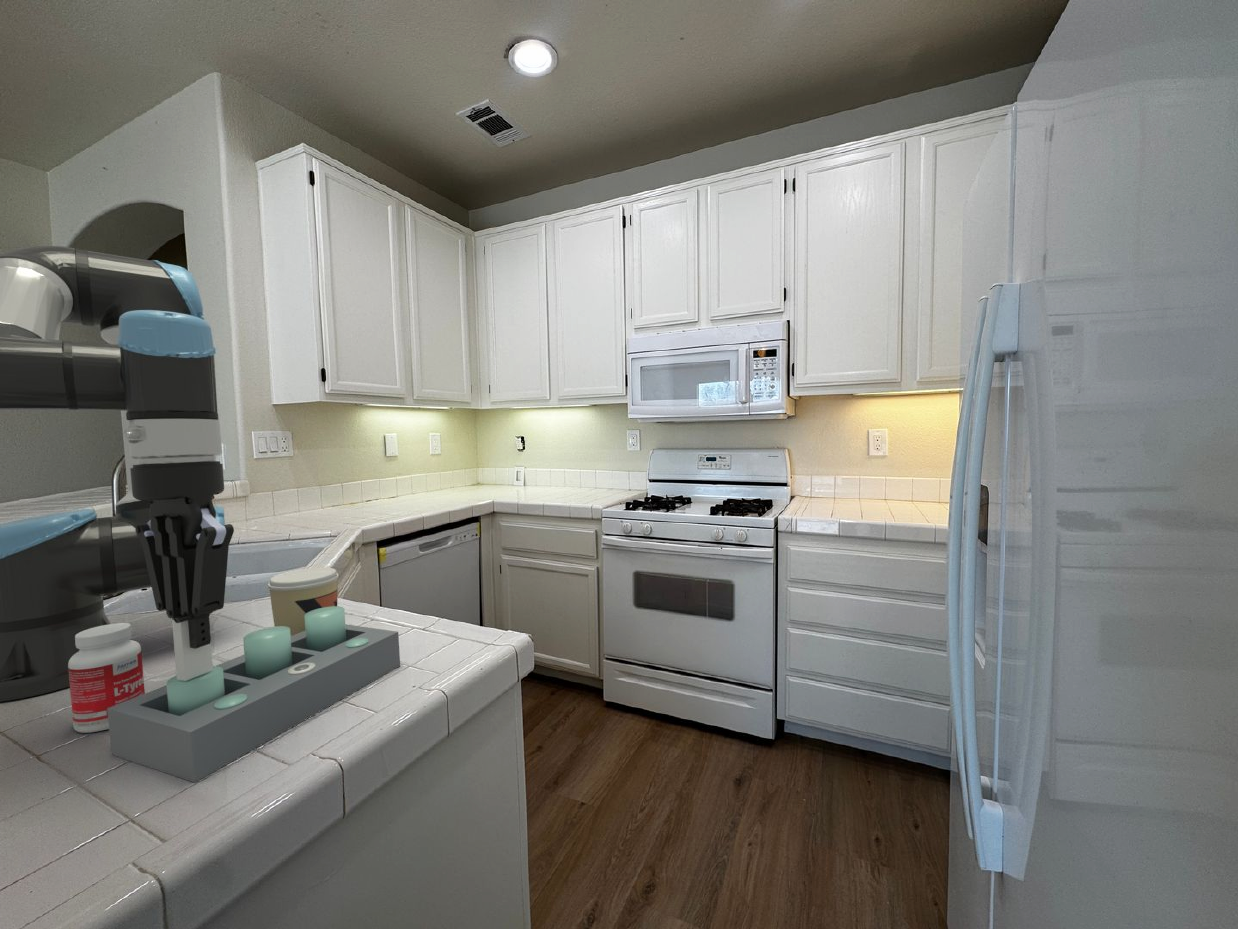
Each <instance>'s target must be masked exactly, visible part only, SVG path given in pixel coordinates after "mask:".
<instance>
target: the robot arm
mask: <svg viewBox="0 0 1238 929" xmlns="http://www.w3.org/2000/svg"><path fill="white" fill-rule="evenodd" d="M201 299H202V298H201V295H200V292H199V289H198V285H197V283H196V281H195V278H194V277H193V274H191V273H190V271H189V270H187V269H186V268H185V267H182V266H179V265H175V264H170V263H165V262H161V261H159V260H155V259H152V260H149V259H143V258H142V259H141V258H136V257H129V256H123V255H117V254H111V253H110V254H109V253H104V252H96V251H93V250H92V251H91V250H85V249H80V248H75V247H70V246H62V245H61V246H60V245H33V246H25V247H19V248H13V249H9V250H6V251H2V252H0V411H2V410H3V411H4V410H6V411H8V410H9V411H11V410H15V411H16V410H17V411H19V410H22V411H24V410H25V411H28V410H29V411H30V410H31V411H32V410H33V411H34V410H36V411H37V410H39V411H45V410H46V411H49V410H50V411H53V410H54V411H56V410H57V411H60V410H61V411H65V410H66V411H67V410H68V411H69V410H70V411H71V410H72V411H74V410H75V411H76V410H77V411H120V416H121V427H122V437H123V438H122V439H123V450H124V462H125V474H126V485H127V493H126V494H125V496H123V497H122V498H121V499H120V500H118V502H116V503H115V513H116V514H115V516H108V517H107V516H106V517H98V513H96V511H95V510H94V509H92V508H86V509H85V508H84V509H78V510H76V509H75V510H69V511H62V512H57V513H50V514H45V515H40V516H34V517H33V516H32V517H29V518H28V517H27V518H23V519H19V520H18V519H17V520H13V521H10V522H4V523H1V524H0V703H1V702H8V701H14V700H20V699H26V698H30V697H35V696H39V695H44V694H46V693H47V694H48V693H50V692H56V691H58V690H63V689H65V688H70V683H69V671H68V662H69V660H70V658H71V657H72V656H73V655H74V654H76V653H77V652H79V650H80V649H78V648H76V645H75V635H76V634H78V633H80V632H82V631H84V630H87V629H91V628H94V627H98V626H103V625H109V624H112V623H111V622H110V619H109V618H108V616H107V615H106V612H105V607H104V606H105V605H104V596H107V595H111V594H116V593H117V594H119V593H125V592H130V591H137V590H141V589H147V588H151V590H152V594H153V599H154V600H153V601H154V603H155V607H156V610H157V611H158V612H163V611H165V612H166V613H165V614H166V616H167V617H168V619H171V623H172V624H171V625H172V634H173V635H172V636H173V637H172V638H173V648H174V649H173V650H174V661H175V670H176V671H175V674H176V675H177V679H179V680H183V681H187V680H189V679H192V678H194V677H197V676H199V675H202V674H204V673H207V672H209V671H212V670H213V666H214V664H213V663H214V662H213V651H212V650H213V649H212V636H211V624H210V615H211V614H213V613H214V612H216V611H218V610H222V609H223V608H224V605H225V596H226V595H225V594H226V583H227V571H228V560H229V548H230V547H229V546H230V542H231V541H232V538H233V535H234V532H235V529H234V526H233V524H231V523H225V522H226V520H225V509H224V508H223V507H222V506H219V505H214V503H213V499H212V498H213V496H215V495H220V494H222V493H223V492H224V490H225V480H224V468H223V466H224V465H223V463H221V461H220V460H219V461H217V456H221V455H222V454H223V449H222V448H223V447H222V437H221V426H220V425H221V424H220V420H219V419H220V418H219V412H218V400H217V399H218V398H217V396H218V395H217V381H216V364H215V362H216V361H215V355H216V353H217V352H216V347H215V345H214V342H213V341H214V340H213V334H212V329H211V325H210V324H209V323H208V322H207V321H206V320H205V316H204V312H203V311H204V310H203V303H202V300H201ZM61 324H70V325H77V326H79V325H80V326H85V327H86V326H87V327H98V328H100V329H99V330H100V336H101V339H102V340H104V341H105V342H106V343H99V342H86V341H85V342H84V341H71V340H70V341H69V340H61V339H60V332H61ZM176 675H175V676H176Z"/></svg>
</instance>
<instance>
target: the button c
mask: <svg viewBox="0 0 1238 929" xmlns="http://www.w3.org/2000/svg"><path fill="white" fill-rule="evenodd" d="M345 624H346V613H345V607H343V606H338V605H337V606H331V607H324V608H319V609H315V610H312V611H310V612H308V613H306V614H305V629H306V644H307V650H313V651H319V652H323V651H325V650H328V649H330V648H332V647H334V646H336V645H339V644H341V643H343V642H345V641H346V627H345Z"/></svg>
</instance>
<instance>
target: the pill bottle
mask: <svg viewBox="0 0 1238 929" xmlns="http://www.w3.org/2000/svg"><path fill="white" fill-rule="evenodd" d="M131 637H132V625H131V624H130V623H129V622H128V623H126V622H117V623H111V624H109V625H103V626H98V627H94V628H91V629H87V630H84V631H82V632H80V633H78V634H76V635H75V645H76V648H78V649H80V650H79V652H77V653H76V654H74V655H73V656H72V657H71V658H70V660H69V662H68V671H69V683H70V686H69V690H70V702H71V703H70V704H71V712H72V713H71V714H72V715H71V716H72V724H73V728H74V730H75V731H76V732H78V733H86V734H88V733H95V732H101V731H105V730H109V722H108V711H107V708H110V707H112V706H115V705H117V704H120V703H122V702H125V701H127V700H130V699H133V698H135V697H138V696H140V695H143V694H145V693H146V692H145V691H146V690H145V680H144V678H145V677H144V669H143V668H144V666H143V654H142V653H143V652H142V646H141V644H140V643H139V642H138V641H135V640H131V639H130V638H131Z"/></svg>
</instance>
